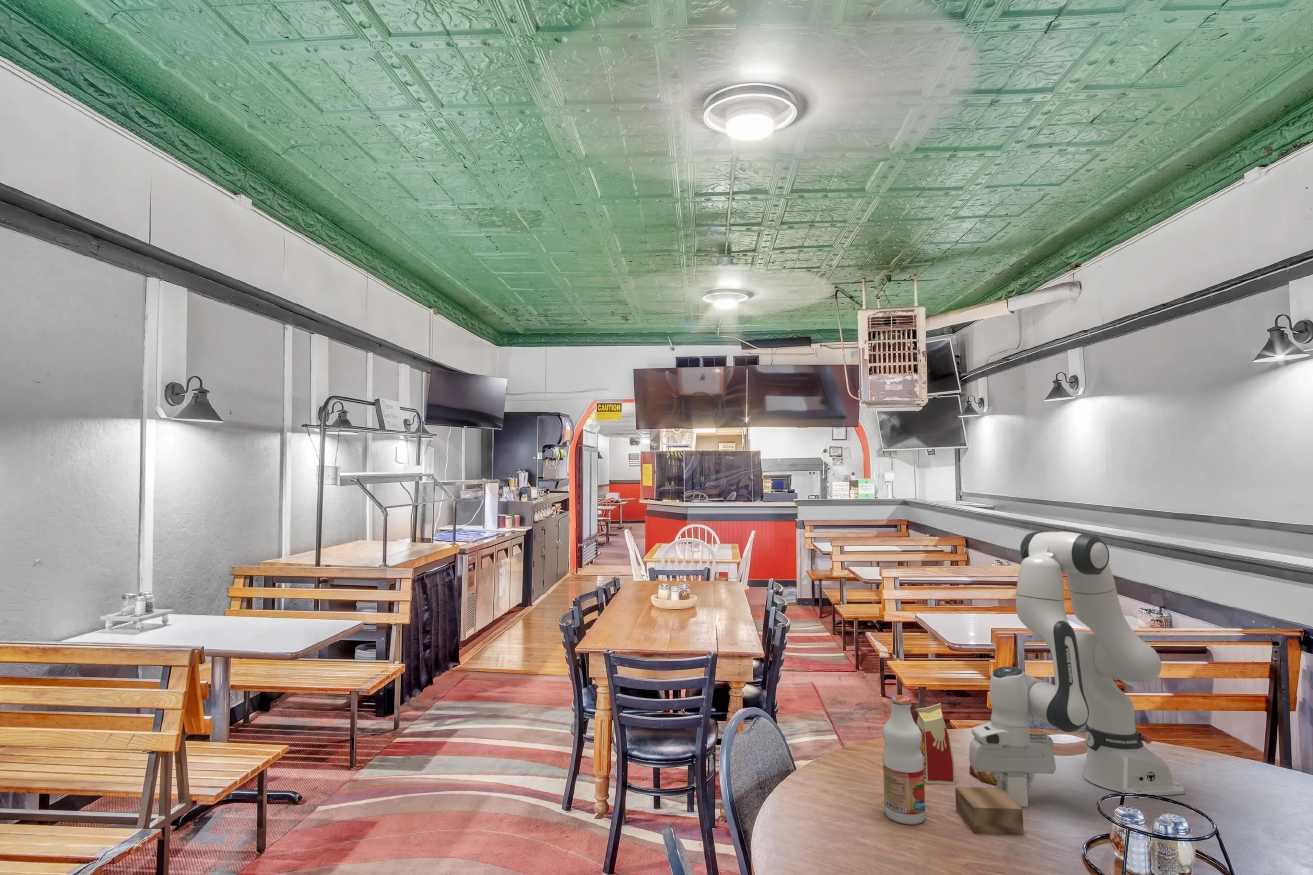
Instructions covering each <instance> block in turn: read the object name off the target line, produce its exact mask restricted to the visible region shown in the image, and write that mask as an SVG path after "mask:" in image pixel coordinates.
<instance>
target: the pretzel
mask: <svg viewBox="0 0 1313 875" xmlns="http://www.w3.org/2000/svg"><path fill="white" fill-rule="evenodd" d="M968 768H969V773H970V774H971V776H973V777H974V778H977V779H979V781H982V782H983V783H985V784H988V785H996V786H997V781H996V779H995V778H994V776H993V775H992V772H977V771H976V770H975V769H974V768H973V767H972V766H971V765H970V764H969V767H968ZM998 777H999V776H998ZM999 779H1000V777H999Z"/></svg>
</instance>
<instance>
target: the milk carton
mask: <svg viewBox="0 0 1313 875" xmlns="http://www.w3.org/2000/svg"><path fill="white" fill-rule="evenodd" d="M941 707H942V703H941V702H939V703H937V704H934V705H931V706H927V707H921V708H915V711H916V712H917V723H916V725H917V726H918V728H919V729H920V731H921V734H922V743H921V747H920V750H921V753H922V756H923V763H924V783H926V784H929V785H931V784H933V785H937V784H938V785H939V784H940V785H950V786H951V785H952V786H956V770H955V760H954V759H955V758H954V755H953V754H954V753H953V750H952V742H951V738H950V735H949V732H948V729H947V726H946V723H945V720H944V719H945V718H944V716H943V712H942V708H941Z"/></svg>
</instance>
